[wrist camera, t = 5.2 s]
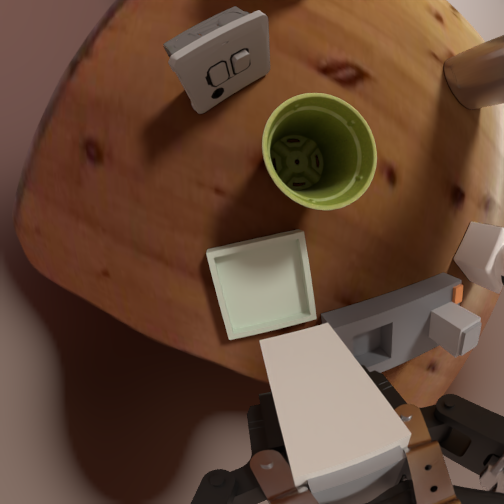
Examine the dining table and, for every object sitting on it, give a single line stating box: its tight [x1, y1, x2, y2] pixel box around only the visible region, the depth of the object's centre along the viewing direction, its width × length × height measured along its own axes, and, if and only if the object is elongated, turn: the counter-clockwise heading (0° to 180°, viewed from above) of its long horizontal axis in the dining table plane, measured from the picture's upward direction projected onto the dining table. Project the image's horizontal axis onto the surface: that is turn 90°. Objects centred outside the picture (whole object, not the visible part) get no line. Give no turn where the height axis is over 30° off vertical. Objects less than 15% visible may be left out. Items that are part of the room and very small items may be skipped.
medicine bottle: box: [454, 221, 504, 294], centre depth 27 cm, size 7×7×12 cm
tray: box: [206, 229, 317, 340], centre depth 29 cm, size 10×10×2 cm
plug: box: [259, 323, 411, 504], centre depth 11 cm, size 4×4×10 cm
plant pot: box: [262, 93, 377, 210], centre depth 23 cm, size 9×9×9 cm
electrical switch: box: [163, 6, 270, 114], centre depth 21 cm, size 9×5×9 cm, turn 127°
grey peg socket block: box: [321, 272, 482, 373], centre depth 28 cm, size 20×9×11 cm, turn 102°
